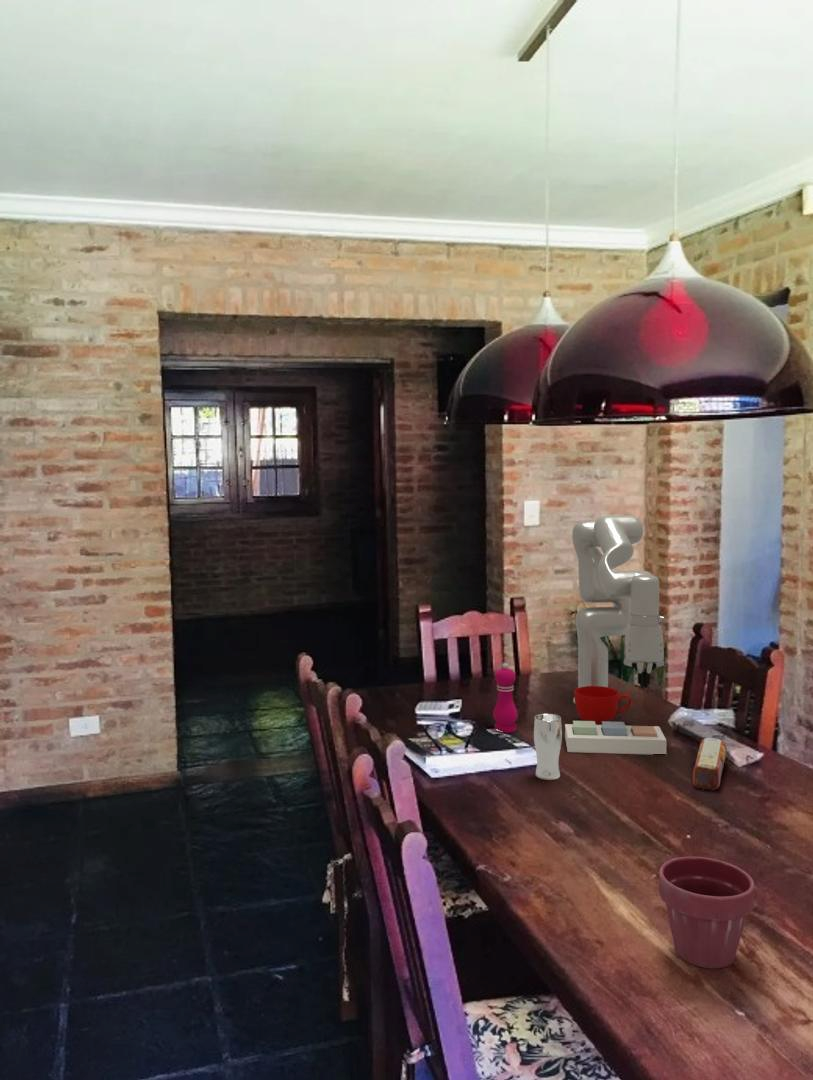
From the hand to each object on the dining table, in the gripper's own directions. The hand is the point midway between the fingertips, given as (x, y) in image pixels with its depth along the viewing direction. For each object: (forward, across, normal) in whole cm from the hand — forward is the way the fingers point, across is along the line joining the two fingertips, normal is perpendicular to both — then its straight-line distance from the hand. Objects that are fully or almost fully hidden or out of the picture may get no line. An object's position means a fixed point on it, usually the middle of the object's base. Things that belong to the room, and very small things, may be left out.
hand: (643, 686), depth 230 cm
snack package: (+17, -13, +20) cm, 30 cm away
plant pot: (+17, +5, +99) cm, 101 cm away
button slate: (+14, +8, 0) cm, 16 cm away
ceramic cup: (+17, +9, -20) cm, 28 cm away
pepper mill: (+17, +38, -12) cm, 43 cm away
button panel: (+17, +8, 0) cm, 19 cm away
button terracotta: (+15, 0, 0) cm, 15 cm away
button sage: (+14, +16, 0) cm, 21 cm away
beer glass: (+17, +27, +24) cm, 40 cm away
